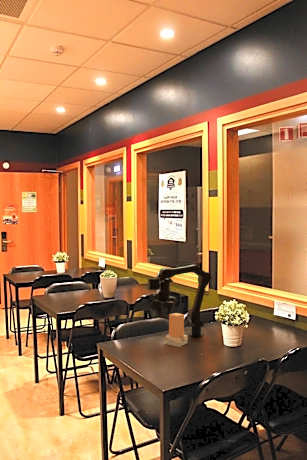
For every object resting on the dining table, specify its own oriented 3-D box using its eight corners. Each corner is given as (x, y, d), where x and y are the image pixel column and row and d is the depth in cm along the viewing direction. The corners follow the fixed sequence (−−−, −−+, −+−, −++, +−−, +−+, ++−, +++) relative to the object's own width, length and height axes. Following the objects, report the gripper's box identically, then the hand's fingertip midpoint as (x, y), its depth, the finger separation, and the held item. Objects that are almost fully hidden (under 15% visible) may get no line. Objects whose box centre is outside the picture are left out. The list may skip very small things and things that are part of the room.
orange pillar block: (176, 333, 244) (176, 312, 244) (183, 335, 239) (184, 314, 239) (168, 335, 240) (169, 314, 239) (176, 337, 235) (176, 316, 235)
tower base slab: (174, 340, 246) (174, 336, 246) (187, 343, 241) (187, 339, 241) (165, 344, 239) (165, 340, 239) (179, 347, 233) (179, 343, 233)
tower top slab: (174, 336, 246) (174, 332, 246) (187, 339, 240) (187, 335, 240) (165, 340, 239) (165, 335, 238) (179, 343, 233) (179, 338, 233)
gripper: (162, 285, 262) (162, 310, 262) (144, 290, 247) (144, 316, 247) (177, 288, 255) (177, 313, 256) (160, 292, 240) (159, 319, 241)
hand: (164, 315), depth 250 cm, fingers open, 9 cm apart
